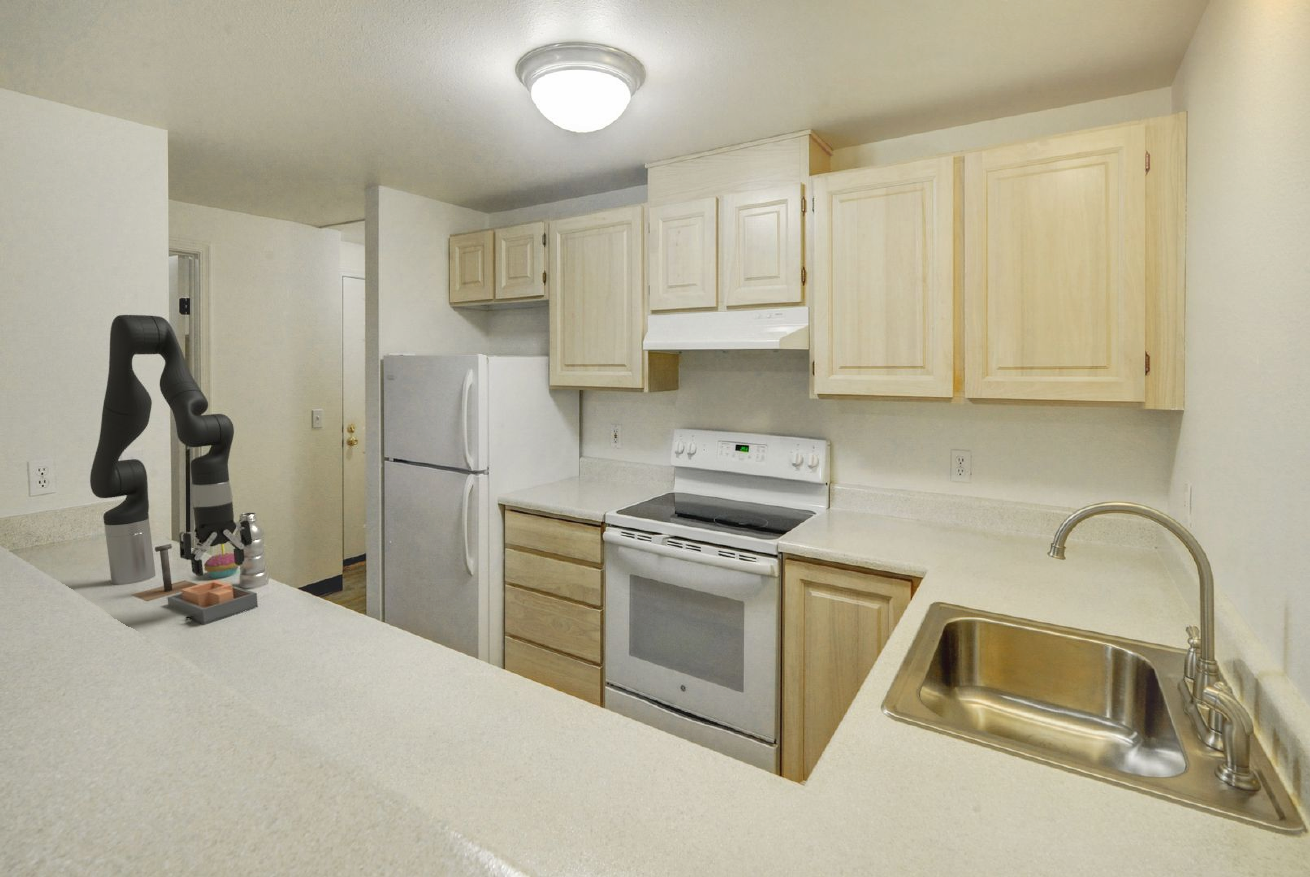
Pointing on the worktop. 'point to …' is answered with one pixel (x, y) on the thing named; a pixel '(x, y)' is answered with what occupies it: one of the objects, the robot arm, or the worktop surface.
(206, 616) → the tray
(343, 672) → the worktop surface
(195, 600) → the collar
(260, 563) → the plastic bottle
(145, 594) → the stake stand
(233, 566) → the cupcake
